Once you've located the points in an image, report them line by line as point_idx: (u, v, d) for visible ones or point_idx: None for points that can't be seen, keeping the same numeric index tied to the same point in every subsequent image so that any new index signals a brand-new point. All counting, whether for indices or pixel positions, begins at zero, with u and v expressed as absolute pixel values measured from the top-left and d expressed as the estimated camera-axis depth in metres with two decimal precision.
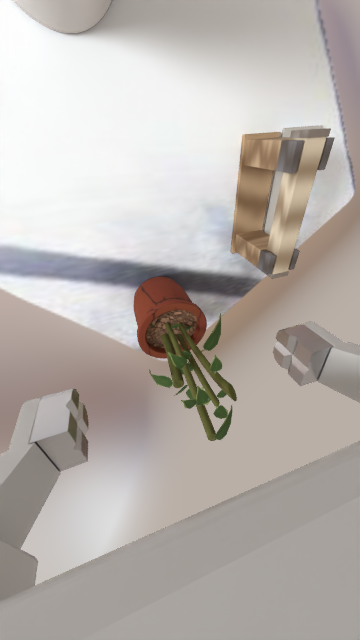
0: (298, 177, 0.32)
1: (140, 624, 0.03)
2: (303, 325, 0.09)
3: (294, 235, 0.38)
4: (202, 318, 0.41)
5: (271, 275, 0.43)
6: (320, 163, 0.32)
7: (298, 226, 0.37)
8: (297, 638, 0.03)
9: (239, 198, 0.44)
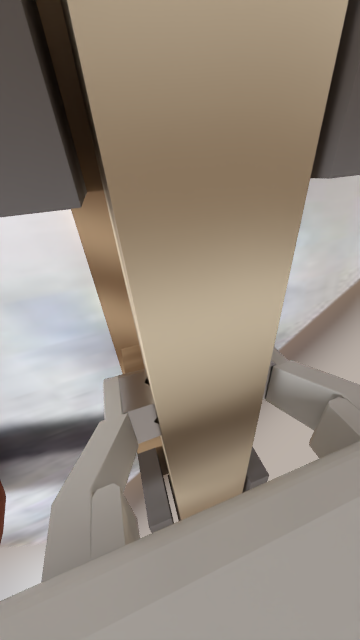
0: (131, 245, 0.03)
1: (140, 624, 0.03)
2: None
3: (233, 461, 0.09)
4: None
5: None
6: (338, 118, 0.03)
7: (243, 439, 0.08)
8: (297, 638, 0.03)
9: (96, 275, 0.16)
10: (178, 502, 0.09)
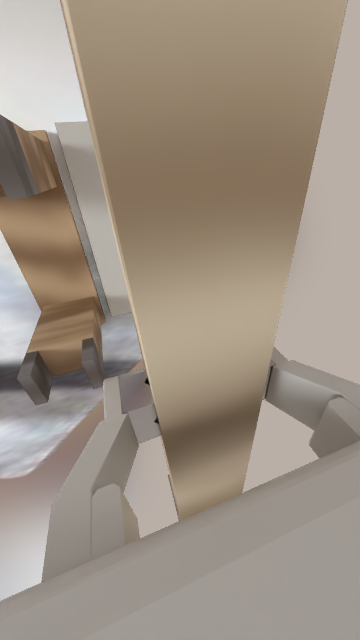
0: (132, 249, 0.03)
1: (140, 624, 0.03)
2: None
3: (233, 461, 0.09)
4: None
5: None
6: (1, 182, 0.12)
7: (243, 439, 0.08)
8: (297, 638, 0.03)
9: (14, 251, 0.24)
10: (178, 502, 0.09)
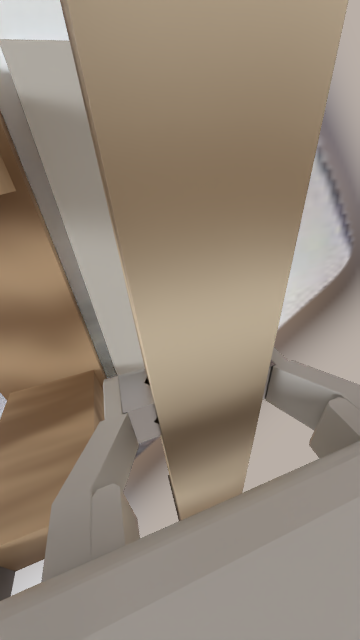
0: (133, 251, 0.03)
1: (140, 624, 0.03)
2: None
3: (233, 462, 0.09)
4: None
5: None
6: None
7: (243, 440, 0.08)
8: (297, 638, 0.03)
9: None
10: (178, 502, 0.09)
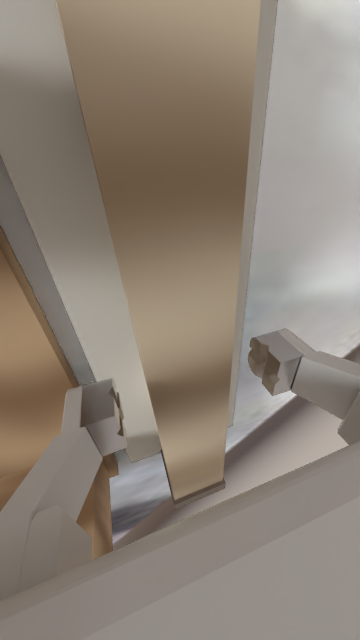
0: (118, 228, 0.05)
1: (140, 624, 0.03)
2: (276, 333, 0.09)
3: (212, 422, 0.10)
4: None
5: (172, 498, 0.14)
6: None
7: (219, 400, 0.09)
8: (297, 638, 0.03)
9: None
10: (166, 459, 0.11)
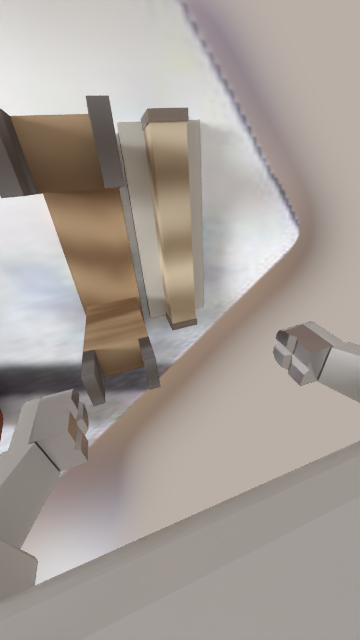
0: (158, 183, 0.21)
1: (140, 624, 0.03)
2: (303, 325, 0.09)
3: (187, 269, 0.26)
4: None
5: (171, 325, 0.30)
6: (102, 171, 0.12)
7: (189, 256, 0.25)
8: (297, 638, 0.03)
9: (66, 250, 0.24)
10: (168, 287, 0.26)
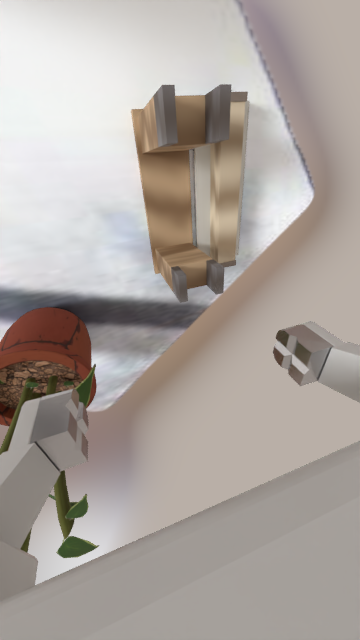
0: (221, 147, 0.29)
1: (140, 624, 0.03)
2: (303, 325, 0.09)
3: (233, 217, 0.35)
4: (82, 370, 0.27)
5: None
6: (219, 129, 0.20)
7: (235, 207, 0.34)
8: (297, 638, 0.03)
9: (147, 200, 0.32)
10: (219, 231, 0.35)
